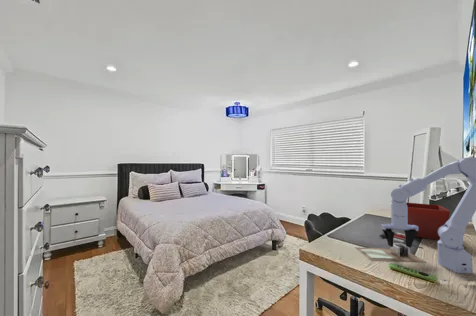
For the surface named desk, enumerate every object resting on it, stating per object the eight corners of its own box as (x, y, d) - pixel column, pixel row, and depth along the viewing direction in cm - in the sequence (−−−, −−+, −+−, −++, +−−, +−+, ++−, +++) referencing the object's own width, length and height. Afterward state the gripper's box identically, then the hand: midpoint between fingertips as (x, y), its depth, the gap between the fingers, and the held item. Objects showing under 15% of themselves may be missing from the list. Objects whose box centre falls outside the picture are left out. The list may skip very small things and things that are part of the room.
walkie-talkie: (377, 238, 118) (422, 251, 100) (377, 230, 118) (421, 242, 100) (385, 236, 122) (430, 248, 104) (385, 228, 122) (430, 239, 104)
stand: (427, 265, 86) (427, 255, 86) (371, 263, 88) (371, 253, 88) (403, 250, 100) (402, 242, 100) (354, 249, 102) (354, 241, 102)
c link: (410, 257, 91) (410, 247, 91) (397, 257, 91) (397, 247, 91) (401, 252, 96) (401, 243, 96) (390, 252, 96) (390, 243, 96)
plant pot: (439, 233, 126) (439, 204, 126) (451, 243, 109) (450, 210, 110) (399, 228, 135) (399, 201, 136) (404, 237, 119) (404, 206, 119)
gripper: (409, 213, 98) (410, 243, 97) (376, 212, 99) (377, 242, 98) (422, 217, 91) (422, 249, 90) (386, 216, 91) (386, 248, 91)
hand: (399, 246), depth 94 cm, fingers open, 7 cm apart
